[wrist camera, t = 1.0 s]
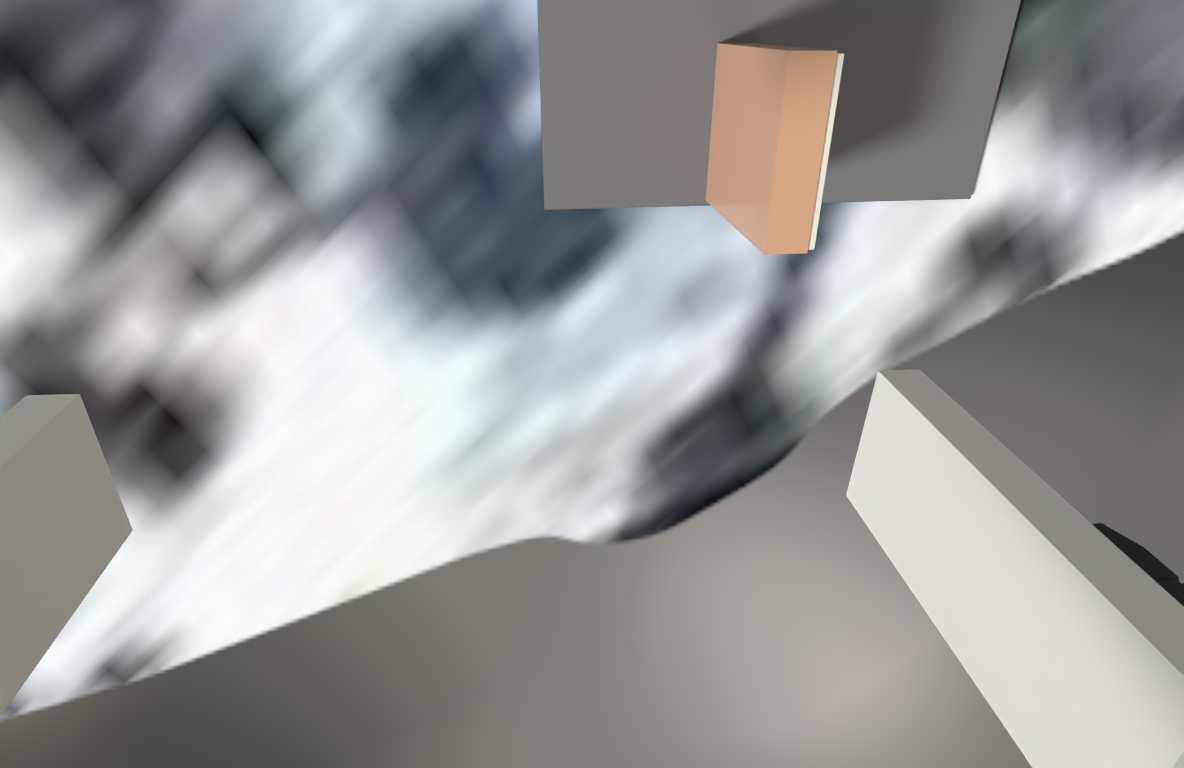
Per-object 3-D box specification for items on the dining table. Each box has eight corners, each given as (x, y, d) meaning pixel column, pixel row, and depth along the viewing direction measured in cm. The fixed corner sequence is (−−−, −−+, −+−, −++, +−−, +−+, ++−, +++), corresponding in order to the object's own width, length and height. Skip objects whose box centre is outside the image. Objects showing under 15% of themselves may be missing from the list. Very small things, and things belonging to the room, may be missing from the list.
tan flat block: (717, 43, 31) (788, 50, 23) (760, 43, 31) (845, 50, 23) (705, 200, 34) (764, 254, 26) (744, 199, 34) (814, 252, 26)
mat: (529, -245, 26) (529, -249, 26) (1072, -226, 28) (1079, -229, 28) (544, 207, 34) (544, 209, 34) (966, 197, 36) (970, 198, 35)
